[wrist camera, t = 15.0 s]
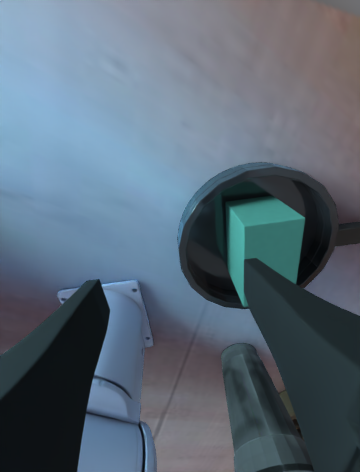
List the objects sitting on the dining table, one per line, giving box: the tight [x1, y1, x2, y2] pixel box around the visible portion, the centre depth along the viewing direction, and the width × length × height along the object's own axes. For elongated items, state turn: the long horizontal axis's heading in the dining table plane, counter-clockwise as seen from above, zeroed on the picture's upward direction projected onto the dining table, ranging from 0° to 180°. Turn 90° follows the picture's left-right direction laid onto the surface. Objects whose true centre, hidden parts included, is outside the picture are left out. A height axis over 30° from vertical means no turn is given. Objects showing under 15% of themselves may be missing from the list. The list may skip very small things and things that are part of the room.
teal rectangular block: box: [226, 196, 305, 307], centre depth 18 cm, size 7×4×5 cm, turn 7°
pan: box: [177, 162, 339, 309], centre depth 20 cm, size 13×13×2 cm
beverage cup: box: [221, 343, 314, 472], centre depth 20 cm, size 7×7×20 cm
